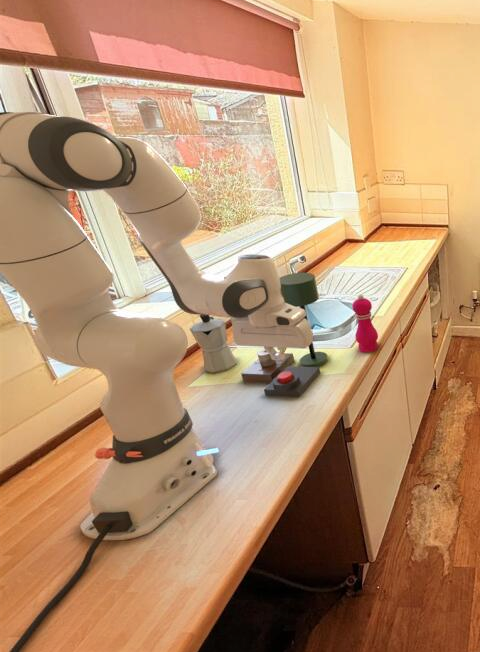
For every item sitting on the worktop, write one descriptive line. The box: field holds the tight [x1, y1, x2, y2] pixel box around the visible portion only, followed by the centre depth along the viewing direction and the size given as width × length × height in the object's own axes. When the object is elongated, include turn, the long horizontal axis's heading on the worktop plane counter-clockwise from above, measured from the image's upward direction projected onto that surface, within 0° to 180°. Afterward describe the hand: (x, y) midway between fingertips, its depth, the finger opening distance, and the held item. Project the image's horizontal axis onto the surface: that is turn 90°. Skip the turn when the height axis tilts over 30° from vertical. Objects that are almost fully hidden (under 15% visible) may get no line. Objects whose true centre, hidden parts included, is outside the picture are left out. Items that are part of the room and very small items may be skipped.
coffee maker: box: [189, 315, 237, 374], centre depth 124 cm, size 15×9×18 cm, turn 34°
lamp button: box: [278, 371, 293, 383], centre depth 113 cm, size 4×4×2 cm
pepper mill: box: [351, 294, 379, 354], centre depth 134 cm, size 7×7×20 cm
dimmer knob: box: [256, 348, 275, 366], centre depth 122 cm, size 4×4×4 cm
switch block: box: [263, 365, 321, 398], centre depth 117 cm, size 12×10×4 cm
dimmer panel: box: [240, 352, 295, 384], centre depth 123 cm, size 12×9×3 cm
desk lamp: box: [279, 272, 329, 368], centre depth 123 cm, size 10×10×29 cm
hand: (278, 359), depth 110 cm, fingers closed
